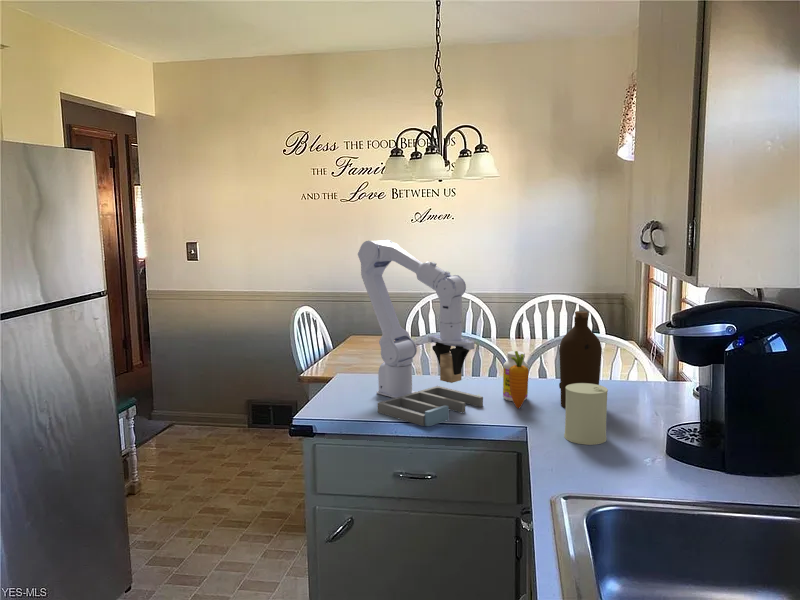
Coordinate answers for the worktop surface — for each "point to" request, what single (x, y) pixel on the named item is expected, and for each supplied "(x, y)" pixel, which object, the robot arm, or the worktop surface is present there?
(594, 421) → the can
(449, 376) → the tan rectangular block
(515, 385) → the carrot
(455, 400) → the gray divided frame
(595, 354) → the olive oil
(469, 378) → the worktop surface
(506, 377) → the supplement bottle
